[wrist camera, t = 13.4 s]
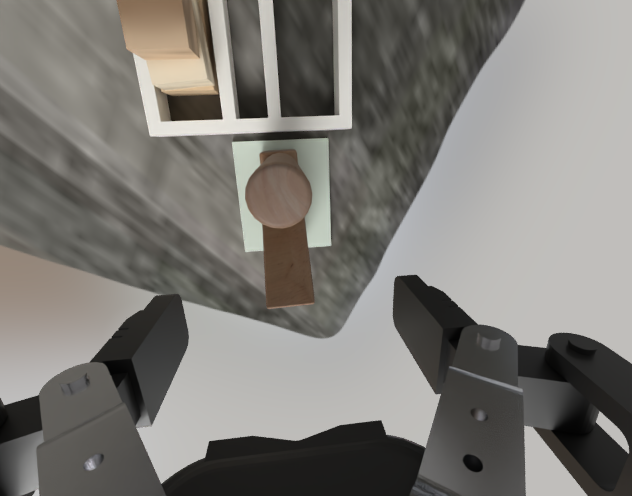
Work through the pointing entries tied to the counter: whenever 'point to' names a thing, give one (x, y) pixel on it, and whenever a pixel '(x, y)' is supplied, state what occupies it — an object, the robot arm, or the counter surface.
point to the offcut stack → (172, 43)
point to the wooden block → (283, 226)
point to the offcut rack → (231, 121)
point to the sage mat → (314, 167)
